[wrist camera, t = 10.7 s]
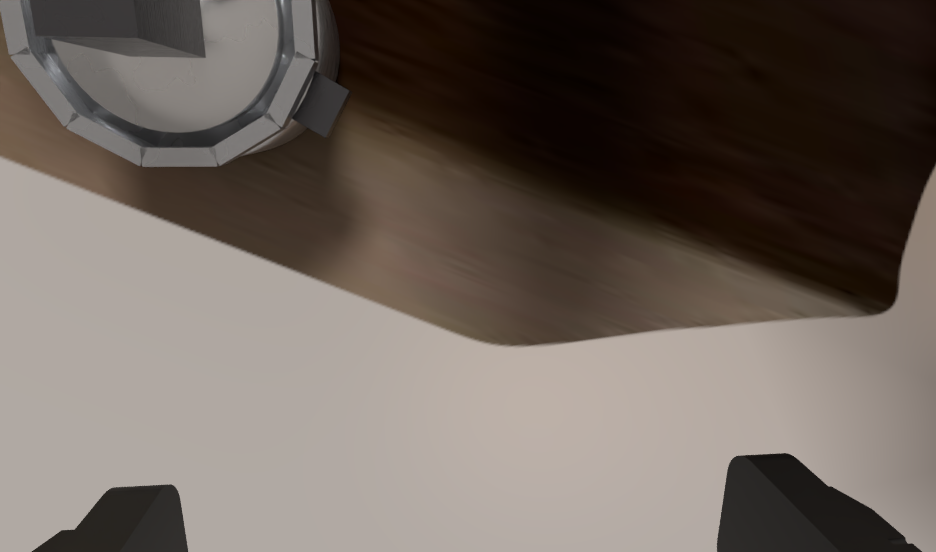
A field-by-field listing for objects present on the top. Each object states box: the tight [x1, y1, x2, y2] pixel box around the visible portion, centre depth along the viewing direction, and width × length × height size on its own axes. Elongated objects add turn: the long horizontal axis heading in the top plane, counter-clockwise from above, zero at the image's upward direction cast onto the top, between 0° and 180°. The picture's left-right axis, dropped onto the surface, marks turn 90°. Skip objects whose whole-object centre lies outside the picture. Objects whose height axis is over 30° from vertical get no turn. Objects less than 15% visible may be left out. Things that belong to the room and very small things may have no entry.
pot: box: [0, 0, 352, 167], centre depth 27 cm, size 12×15×9 cm
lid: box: [29, 0, 284, 133], centre depth 21 cm, size 9×9×7 cm
